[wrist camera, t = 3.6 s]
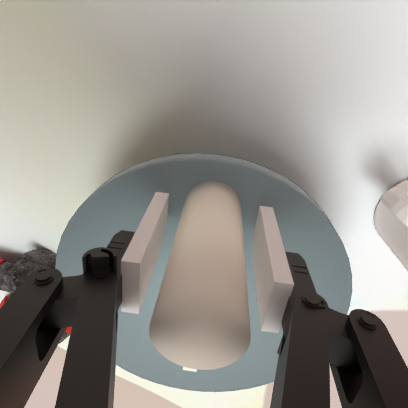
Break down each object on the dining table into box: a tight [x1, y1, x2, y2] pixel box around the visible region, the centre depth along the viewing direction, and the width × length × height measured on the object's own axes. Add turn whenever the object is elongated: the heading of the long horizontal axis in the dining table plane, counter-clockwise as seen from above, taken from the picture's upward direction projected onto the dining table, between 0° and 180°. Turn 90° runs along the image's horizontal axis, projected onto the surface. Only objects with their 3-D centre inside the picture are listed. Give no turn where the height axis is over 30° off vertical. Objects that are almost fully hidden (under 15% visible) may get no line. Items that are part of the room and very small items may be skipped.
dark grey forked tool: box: [0, 249, 72, 344], centre depth 39 cm, size 6×26×15 cm
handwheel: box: [55, 153, 352, 392], centre depth 20 cm, size 22×22×12 cm
